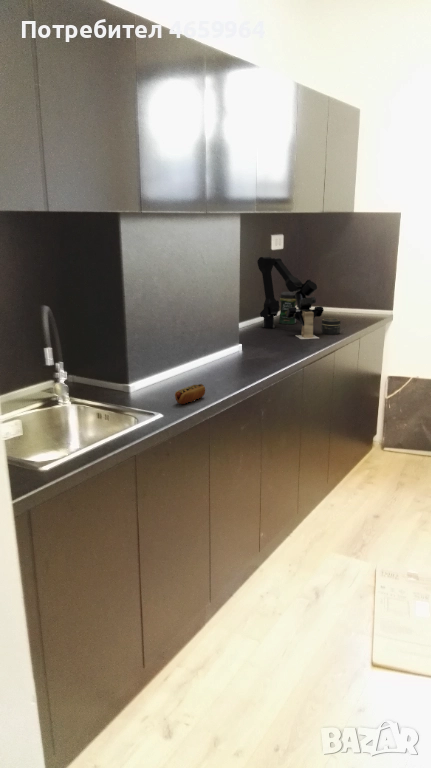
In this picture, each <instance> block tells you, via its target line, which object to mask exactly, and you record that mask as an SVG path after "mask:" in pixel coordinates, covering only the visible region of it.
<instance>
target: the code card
mask: <svg viewBox="0 0 431 768" xmlns="http://www.w3.org/2000/svg"><path fill="white" fill-rule="evenodd" d="M295 337H297V338H299V339H300V340H309V339H319V337H318V336H317V335H315V334H313V337H310V338H304V337H302V334H296V335H295Z"/></svg>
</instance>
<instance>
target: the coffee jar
mask: <svg viewBox="0 0 431 768" xmlns="http://www.w3.org/2000/svg"><path fill="white" fill-rule="evenodd" d="M296 292H297V291H296ZM296 292H290V291H282V292H280V296H279V300H280V301H279V302H280V310H279V311H280V313H279V320H278V322H279V324H283V325H295V324H296V323H297V320H296V319H294V317H293V318H287V311H288V309H289V308H291V307H296V304H297V301H296V299H294V298H292V297H293V296H294V294H295V293H296Z"/></svg>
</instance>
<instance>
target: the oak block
mask: <svg viewBox="0 0 431 768" xmlns="http://www.w3.org/2000/svg"><path fill="white" fill-rule="evenodd" d="M302 317H303V320H304V326H303V325H302V324H301V335H302V337H304V338H310V337H313V335H314V324H313V318H314V312H312V311H302ZM314 319H315V318H314Z"/></svg>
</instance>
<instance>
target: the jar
mask: <svg viewBox="0 0 431 768" xmlns="http://www.w3.org/2000/svg"><path fill="white" fill-rule="evenodd" d="M341 323H342V322H341V319H338V318H333V317H332V318H329V317H328V318H327V317H326V318H323V319H321V323H320V324H321V328H320V329H321V334H323V335H329V336H333V335H339V334H340V332H341Z"/></svg>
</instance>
